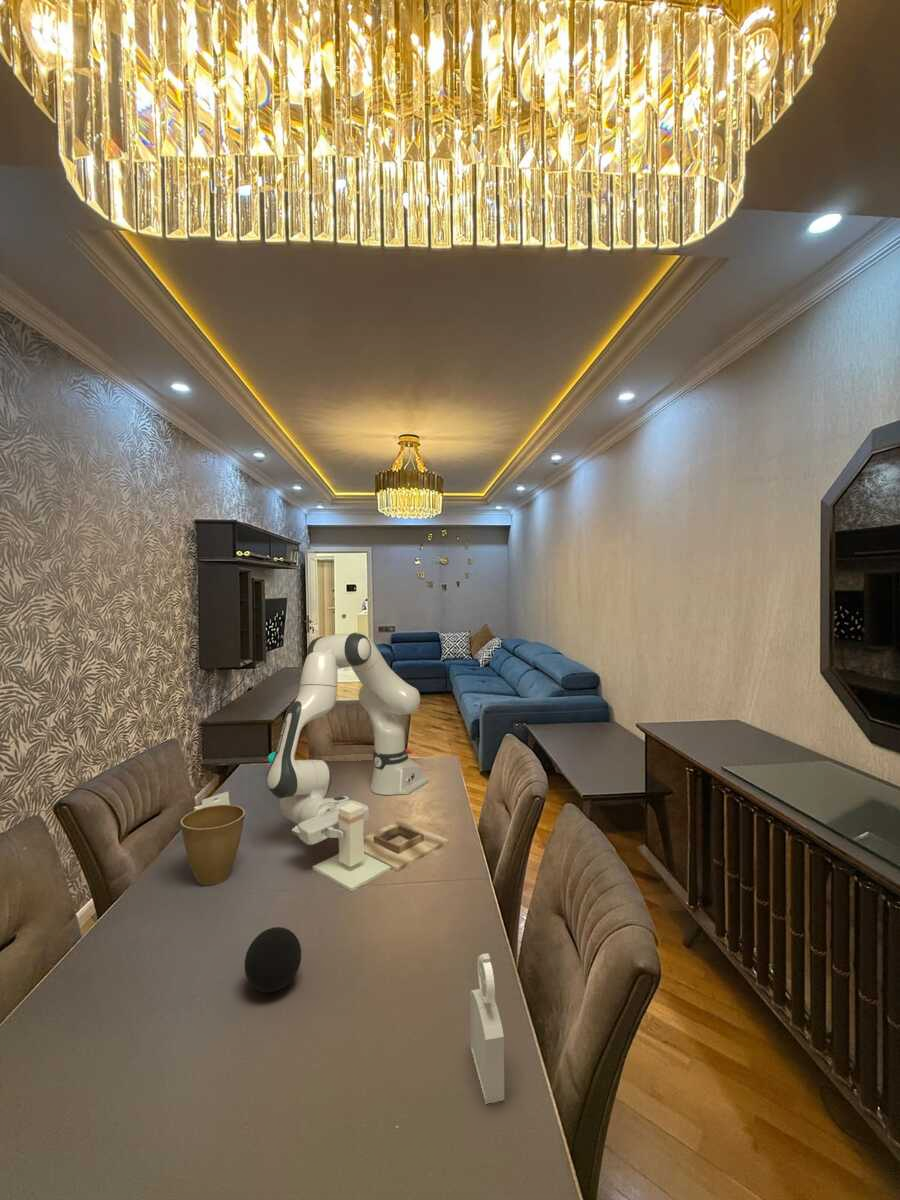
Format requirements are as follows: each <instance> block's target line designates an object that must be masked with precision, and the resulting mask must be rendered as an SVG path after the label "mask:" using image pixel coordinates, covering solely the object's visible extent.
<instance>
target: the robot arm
mask: <svg viewBox="0 0 900 1200" xmlns="http://www.w3.org/2000/svg"><path fill="white" fill-rule="evenodd" d="M349 667H350V668H351V669H352V671H353V672H354V673H355V675H356V678H358V680H359V681H360V683H361V686H360V689H359V692H358V701H359V704H360V705H361V706H363V709H365V710H366V712H367V715H368V716H369V719H370V721H371V725H372V729H373V739H374V740H373V741H374V743H373V744H374V745H373V747H374V749H373V753H372V754H373V755H372V756H373V772H372V779H371V784H370V785H371V786H370V791H371V792H373V793H374V794H377V795H383V796H384V795H385V796H392V795H409V794H411V793H412V792H414V791H415V790H417V789H419V788H420V787H423V785H426V783H428V782H429V778H428V777H427V776H425V775H423V771H422V767H421V765H420V764H419V763H417V762H416V761H414V760H413V759H412V758H410V757H409V755H413V753H414V749H413V748H410V747H408V748H407V747H405V745H406V744H405V740H406V739H405V728H404V726H403V724H402V723H401V722H399V719H398V718H397V717H396V715H397V716H398V715H399V716H401V715H413V714H414V713H415V712H417V710H418V709H419V707H420V704H421V694H420V691H419V690H418V689H417V688H416V687H414V686H412V685H411V684H409V683H408V682H406V681H405V680H404V679H402V678H401V677H400V676H399V675H398V674H397V673H395V671H394V670H393V669H392V668H391V667H390V666H389V664H387V661H386V660H385V658H384V657H383V655H382V654H381V652H380V650H379V648H378V647H377V646H376V645H375V643H374V642H373V640H371V638H370V637H369V636H368V635H367V634H365V633H364V632H362V631H355V632H352V633H336V634H331V635H327V636H319V637H317V638H314V639H312V641H310V642H309V644H308V646H307V650H306V657H305V661H304V664H303V668H302V672H301V676H300V682H299V683H300V684H299V690H298V694H297V696H296V698H295V700H294V701H293V702H292V703H290V704H289V706H288V708H287V710H286V712H285V715H284V718H283V722H282V725H281V730H280V733H279V736H278V741H277V745H276V748H275V751H276V752H275V751H274V752H275V756H274V759H273V762H272V763H270V764H271V765H270V767H269V769H268V772H267V775H266V786H267V788H268V790H269V791H270V793H271V794H272V795H273V796H275V798H277V799H280V800H279V801H280V803H279V806H280V810H281V812H282V813H283V815H284V816H285V817H286V818H287V819H288V820H290V821H292V822H293V823H295V824H296V825H294V826H293V828H292V829H291V832H292V834H294V835H296V836H297V837H298V838H299V840H300V841H302V842H303V843H304V844H306V845H309V846H310V845H311V846H314V845H315V844H318V843H320V842H322V841H325V840H326V839H332V838H333V839H334V838H335V839H338V840H339V839H343V838H345V837H346V831H345V830H343V829H340V830H339V819H338V814H339V810H338V808H340V807H342V806H345V805H347V804H350V803H354V804H357V805H359V806H362V807H363V813H364V818H363V830H364V829H365V822H367V821H369V820H370V808H369V806H368V805H366V804H364V803H362V802H359V801H357V800H354V799H351V800H350V797H349V796H347V795H345V796H343V795H342V796H339V797H338V796H337V797H330V798H329V797H327V795H328V793H329V790H330V788H331V785H332V772H331V768H330V767H329V765H328V763H327V762H326V761H325V760H323V759H295V758H294V756H295V757H296V751H297V747H298V743H299V738H300V735H301V731H302V730H303V728H304V726H305V725H306V724H308V723H309V722H312V721H314V720H316V719H318V718H321V717H323V716H325V715H326V714H328V713H329V712H330V711H331V710H332V709H333V708H334V707H335V704H336V700H337V695H338V693H337V692H338V683H339V682H338V679H339V678H338V670H339V669H343V668H349ZM408 754H409V755H408Z"/></svg>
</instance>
